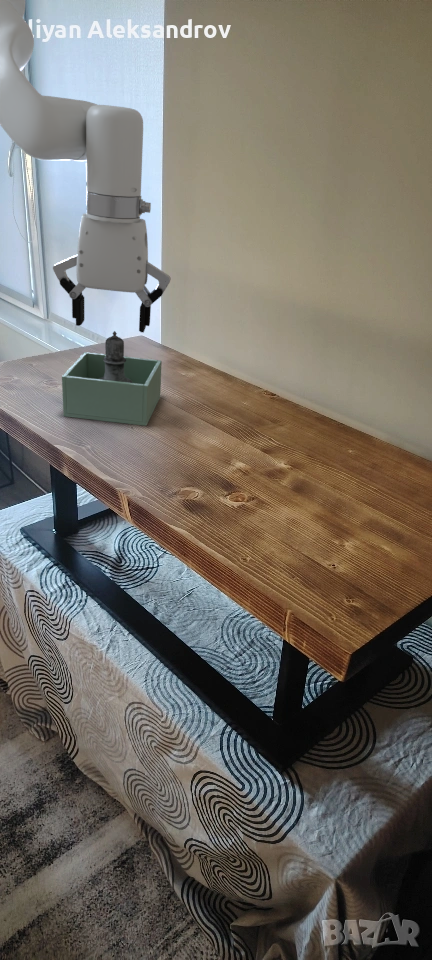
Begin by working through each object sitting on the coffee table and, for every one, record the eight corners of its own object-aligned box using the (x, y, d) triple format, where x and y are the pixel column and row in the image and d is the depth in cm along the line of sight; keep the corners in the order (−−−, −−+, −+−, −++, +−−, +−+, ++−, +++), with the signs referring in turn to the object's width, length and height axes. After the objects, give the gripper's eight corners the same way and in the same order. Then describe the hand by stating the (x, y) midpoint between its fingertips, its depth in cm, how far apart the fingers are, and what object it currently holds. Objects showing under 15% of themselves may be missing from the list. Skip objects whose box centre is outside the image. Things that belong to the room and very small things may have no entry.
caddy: (63, 416, 98) (61, 376, 95) (85, 388, 109) (84, 351, 105) (146, 425, 97) (147, 386, 94) (160, 397, 108) (161, 360, 105)
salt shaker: (130, 411, 100) (131, 338, 94) (93, 408, 100) (92, 335, 94) (134, 397, 105) (135, 327, 99) (99, 394, 105) (98, 324, 99)
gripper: (176, 210, 92) (169, 325, 100) (58, 197, 91) (60, 314, 100) (172, 217, 85) (165, 339, 94) (45, 203, 85) (49, 327, 93)
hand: (111, 326), depth 97 cm, fingers open, 9 cm apart
